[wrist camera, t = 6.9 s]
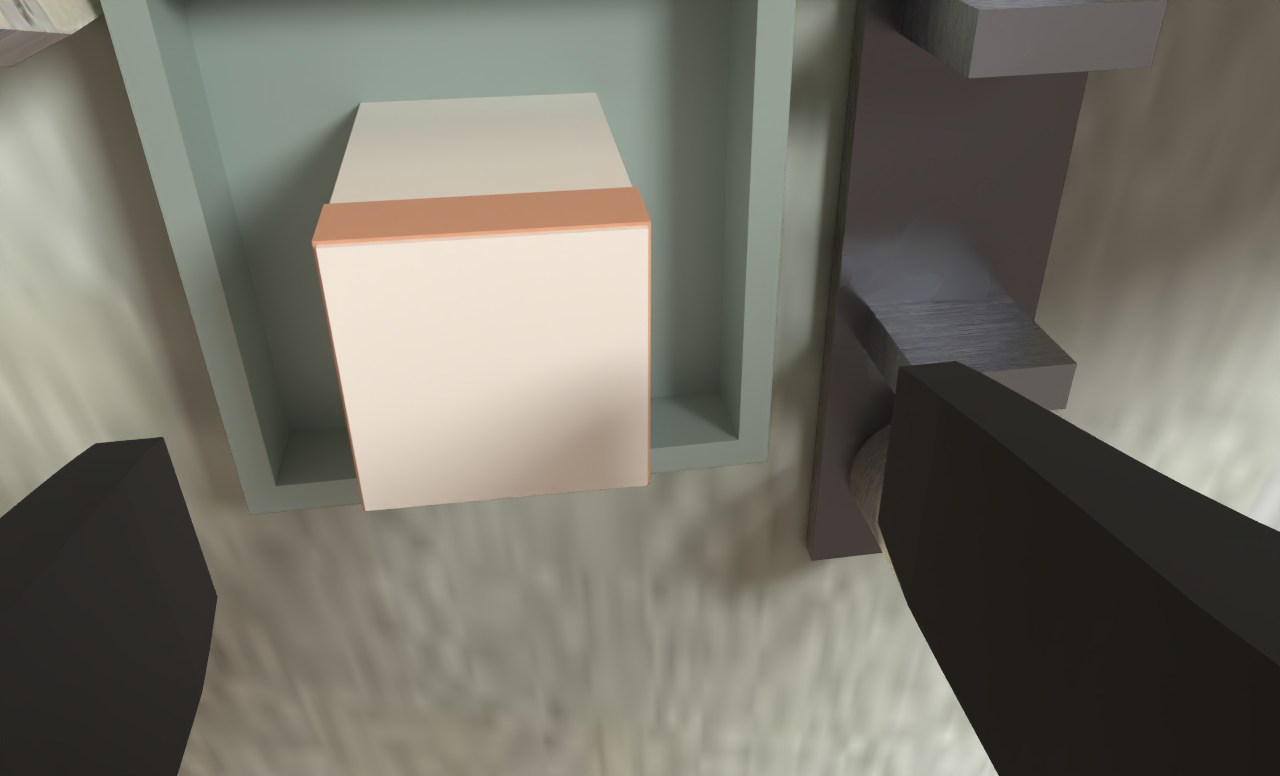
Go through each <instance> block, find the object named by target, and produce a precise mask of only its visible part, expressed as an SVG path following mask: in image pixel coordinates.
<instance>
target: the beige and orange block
mask: <svg viewBox="0 0 1280 776" xmlns="http://www.w3.org/2000/svg"><path fill="white" fill-rule="evenodd" d="M312 245H313V251H314V256H315V261H316V266H317V272H318V277H319V282H320V287H321V292H322V298H323V303H324V308H325V313H326V319H327V324H328V329H329V334H330V340H331V345H332V350H333V355H334V361H335V366H336V371H337V376H338V381H339V387H340V392H341V397H342V402H343V408H344V413H345V418H346V423H347V429H348V434H349V439H350V444H351V449H352V455H353V460H354V465H355V470H356V476H357V481H358V486H359V491H360V497H361V502H362V507H363V510H365V511H373V510H384V509H395V508H406V507H416V506H427V505H438V504H449V503H460V502H471V501H482V500H493V499H504V498H514V497H525V496H536V495H547V494H558V493H569V492H580V491H591V490H602V489H612V488H623V487H634V486H645V485H648V484H650V360H651V220H650V217H649V215H648V212H647V210H646V207H645V205H644V202H643V200H642V197H641V195H640V192H639V190H638V187H632V185H631V182H630V180H629V177H628V175H627V172H626V169H625V167H624V164H623V162H622V159H621V156H620V154H619V151H618V149H617V146H616V143H615V141H614V138H613V136H612V133H611V130H610V128H609V125H608V123H607V120H606V118H605V115H604V112H603V110H602V107H601V105H600V102H599V99H598V97H597V94H596V93H574V94H551V95H528V96H505V97H482V98H459V99H436V100H413V101H390V102H367V103H360V106H359V109H358V112H357V116H356V119H355V122H354V125H353V129H352V132H351V135H350V138H349V142H348V145H347V148H346V151H345V155H344V158H343V161H342V165H341V168H340V171H339V174H338V178H337V181H336V184H335V187H334V191H333V194H332V197H331V200H330V204H324V205H323V208H322V211H321V214H320V217H319V220H318V224H317V227H316V230H315V233H314V236H313V239H312Z"/></svg>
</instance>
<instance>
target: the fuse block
mask: <svg viewBox="0 0 1280 776" xmlns="http://www.w3.org/2000/svg"><path fill="white" fill-rule="evenodd" d="M1167 2H1168V0H857V9H856V20H855V30H854V41H853V52H852V62H851V73H850V84H849V94H848V105H847V116H846V126H845V137H844V148H843V158H842V169H841V180H840V190H839V201H838V212H837V222H836V233H835V244H834V254H833V265H832V276H831V286H830V297H829V308H828V318H827V329H826V340H825V350H824V361H823V372H822V382H821V393H820V404H819V414H818V425H817V436H816V446H815V457H814V468H813V478H812V489H811V500H810V510H809V521H808V532H807V542H806V548H807V550H808V553H809V555H810V557H811V560H812V561H814V560H822V559H831V558H840V557H848V556H857V555H866V554H874V553H883V554H884V556H885V558H886V560H887V561H888V563H889V565H890V567H891V569H892V571H893V573H894V575H895V577H896V579H897V581H898V578H897V576H896V573H895V570H894V568H893V565H892V562H891V559H890V556H889V554H888V551H887V548H886V545H885V542H884V539H883V536H882V534H881V531H880V528H879V525H878V515H879V508H880V501H881V493H882V486H883V479H884V471H885V464H886V457H887V449H888V442H889V435H890V427H891V420H892V413H893V405H894V398H895V391H896V383H897V376H898V369H899V366H909V365H920V364H930V363H941V362H951V361H957V362H960V363H962V364H964V365H966V366H968V367H970V368H972V369H974V370H976V371H978V372H980V373H982V374H984V375H986V376H988V377H990V378H992V379H994V380H995V381H997V382H999V383H1001V384H1003V385H1004V386H1006V387H1008V388H1010V389H1012V390H1013V391H1015V392H1017V393H1019V394H1020V395H1022V396H1024V397H1026V398H1028V399H1029V400H1031V401H1033V402H1035V403H1036V404H1038V405H1040V406H1042V407H1043V408H1045V409H1047V410H1056V409H1065V408H1066V404H1067V400H1068V396H1069V392H1070V388H1071V384H1072V380H1073V376H1074V372H1075V368H1076V364H1077V363H1076V362H1075V361H1074V360H1073V359H1072V358H1071V357H1070V356H1069V355H1068V354H1067V353H1066V352H1065V351H1064V350H1063V349H1062V348H1061V347H1060V346H1059V345H1058V344H1057V343H1056V342H1054V341H1053V340H1052V339H1051V338H1050V337H1049V336H1048V335H1047V334H1046V333H1045V332H1044V331H1043V330H1042V329H1041V328H1040V327H1039V326H1038V325H1037V324H1036V323H1035V322H1034V318H1035V313H1036V308H1037V304H1038V299H1039V295H1040V290H1041V286H1042V281H1043V276H1044V272H1045V267H1046V263H1047V258H1048V254H1049V249H1050V244H1051V240H1052V235H1053V231H1054V226H1055V222H1056V217H1057V212H1058V208H1059V203H1060V199H1061V194H1062V190H1063V185H1064V180H1065V176H1066V171H1067V167H1068V162H1069V158H1070V153H1071V148H1072V144H1073V139H1074V135H1075V130H1076V126H1077V121H1078V117H1079V112H1080V107H1081V103H1082V98H1083V94H1084V89H1085V85H1086V80H1087V75H1088V71H1098V70H1115V69H1132V68H1148V67H1151V66H1152V62H1153V58H1154V54H1155V50H1156V46H1157V42H1158V38H1159V34H1160V30H1161V26H1162V22H1163V18H1164V14H1165V10H1166V6H1167ZM898 582H899V581H898ZM899 584H900V583H899Z"/></svg>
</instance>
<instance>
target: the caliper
mask: <svg viewBox="0 0 1280 776" xmlns="http://www.w3.org/2000/svg"><path fill="white" fill-rule="evenodd" d="M102 14H104V12H103V8H102V5H101V1H100V0H0V66H10V67H11V66H13V65H15V64H17V63H19V62H21V61H23V60H25V59H26V58H28V57H30V56H32V55H34V54H36V53H38V52H40V51H42V50H43V49H45V48H47V47H49V46H51V45H53V44H55V43H57V42H58V41H60V40H62V39H64V38H66V37H68V36H70V35H72V34H73V33H75V32H76V31H78V30H79V29H81V28H82V27H84V26H85V25H87V24H88V23H90V22H92V21H93V20H95V19H96V18H98V17H99V16H101V15H102Z"/></svg>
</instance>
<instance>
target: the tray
mask: <svg viewBox="0 0 1280 776" xmlns="http://www.w3.org/2000/svg"><path fill="white" fill-rule="evenodd" d="M100 1H101V5H102V8H103V12H104V15H105V19H106V22H107V26H108V29H109V32H110V36H111V39H112V43H113V46H114V50H115V53H116V57H117V60H118V63H119V67H120V70H121V74H122V77H123V81H124V84H125V88H126V91H127V94H128V98H129V101H130V105H131V108H132V112H133V115H134V119H135V122H136V125H137V129H138V132H139V136H140V139H141V143H142V146H143V150H144V153H145V156H146V160H147V163H148V167H149V170H150V174H151V177H152V181H153V184H154V187H155V191H156V194H157V198H158V201H159V205H160V208H161V212H162V215H163V218H164V222H165V225H166V229H167V232H168V236H169V239H170V243H171V246H172V249H173V253H174V256H175V260H176V263H177V267H178V270H179V274H180V277H181V280H182V284H183V287H184V291H185V294H186V298H187V301H188V305H189V308H190V311H191V315H192V318H193V322H194V325H195V329H196V332H197V336H198V339H199V342H200V346H201V349H202V353H203V356H204V360H205V363H206V367H207V370H208V373H209V377H210V380H211V384H212V387H213V391H214V394H215V398H216V401H217V404H218V408H219V411H220V415H221V418H222V422H223V425H224V429H225V432H226V435H227V439H228V442H229V446H230V449H231V453H232V456H233V460H234V463H235V466H236V470H237V473H238V477H239V480H240V484H241V487H242V491H243V494H244V497H245V501H246V504H247V508H248V511H249V515H253V514H263V513H273V512H283V511H292V510H302V509H312V508H321V507H331V506H341V505H351V504H360V503H362V502H361V497H360V491H359V486H358V481H357V476H356V470H355V465H354V460H353V455H352V449H351V444H350V439H349V434H348V429H347V423H346V418H345V413H344V408H343V402H342V397H341V392H340V387H339V381H338V376H337V371H336V366H335V361H334V355H333V350H332V345H331V340H330V334H329V329H328V324H327V319H326V313H325V308H324V303H323V298H322V292H321V287H320V282H319V277H318V272H317V266H316V261H315V256H314V251H313V245H312V239H313V236H314V233H315V230H316V227H317V224H318V220H319V217H320V214H321V211H322V208H323V205H324V204H330V200H331V197H332V194H333V191H334V187H335V184H336V181H337V178H338V174H339V171H340V168H341V165H342V161H343V158H344V155H345V151H346V148H347V145H348V142H349V138H350V135H351V132H352V129H353V125H354V122H355V119H356V116H357V112H358V109H359V106H360V103H367V102H390V101H413V100H436V99H459V98H482V97H505V96H528V95H551V94H574V93H596V94H597V97H598V99H599V102H600V105H601V107H602V110H603V112H604V115H605V118H606V120H607V123H608V125H609V128H610V130H611V133H612V136H613V138H614V141H615V143H616V146H617V149H618V151H619V154H620V156H621V159H622V162H623V164H624V167H625V169H626V172H627V175H628V177H629V180H630V182H631V185H632V187H638V190H639V192H640V195H641V197H642V200H643V202H644V205H645V207H646V210H647V212H648V215H649V217H650V220H651V360H650V474H652V473H661V472H671V471H681V470H691V469H700V468H710V467H720V466H729V465H739V464H749V463H759V462H767V459H768V443H769V427H770V411H771V395H772V379H773V363H774V347H775V331H776V315H777V299H778V283H779V267H780V252H781V236H782V220H783V204H784V188H785V172H786V156H787V140H788V124H789V108H790V92H791V76H792V61H793V45H794V29H795V13H796V0H100Z"/></svg>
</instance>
